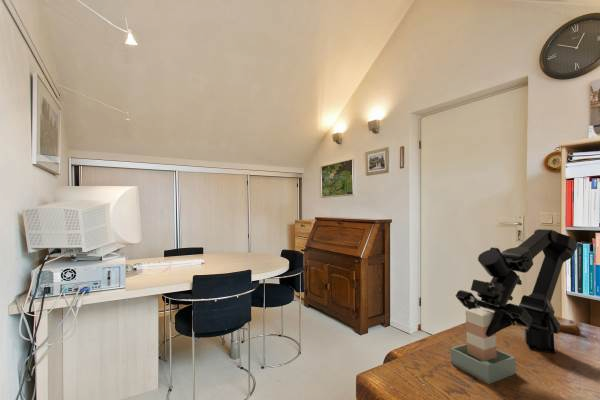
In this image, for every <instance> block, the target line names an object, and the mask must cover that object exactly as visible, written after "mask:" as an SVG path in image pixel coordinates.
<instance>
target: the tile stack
mask: <svg viewBox="0 0 600 400" xmlns="http://www.w3.org/2000/svg"><path fill="white" fill-rule="evenodd" d="M493 318H494V311H491V310H488V309H487V310H486V309H485V308H482V307H480V308H473V309H469V310H468V309H465V325H466V326H465V329H466V331H465V333H466V343H467V353H468V354H471V355H473V356H475V357H477V358H479V359H481V360H483V361H487V360H490V359H493V358H496V357H497V350H498V349H497V333H495V334H493V335H491V336H490V337H487V336H486V332H487V329H488V327H489V325H490V323H491V321H492V319H493ZM496 349H497V350H496Z"/></svg>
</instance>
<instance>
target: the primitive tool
mask: <svg viewBox="0 0 600 400" xmlns="http://www.w3.org/2000/svg"><path fill="white" fill-rule="evenodd" d="M514 323H515V324H516V325H515V326H521V325H518V324H517V322H516V321H515V322H514ZM560 332H562V333H568V334H573V335H576V336H580V335H581V330H580V327H579V326H578V325H577V324H574V325H572V324H571V325H569V324H568V325H567V324H560V331H559V333H560Z"/></svg>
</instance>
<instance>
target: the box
mask: <svg viewBox="0 0 600 400" xmlns="http://www.w3.org/2000/svg"><path fill="white" fill-rule="evenodd" d="M449 350H450V364H452V365H454V366H455V367H457V368H459V369H461V370H462V371H464V372H466V373H469V374H470V375H472V376H473V377H475V378H477V379H479V380H480V381H483V382H485V383H486V384H488V385H490V384H493V383H495V382H498V381H500V380H503V379H505V378H508V377H510V376H513V375H516V374H517V370H516V367H517V366H516V357H515V356H513V355H511V354H508V353H506V352H503V351H501V350H499V349H497V348H496V350H497V357H496V358H493V359H490V360H487V361H483V360H481V359H479V358H477V357H475V356H473V355H471V354H468V353H467V342H466V343H462V344H459V345H456V346H453V347H450V348H449Z"/></svg>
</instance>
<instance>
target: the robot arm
mask: <svg viewBox="0 0 600 400" xmlns="http://www.w3.org/2000/svg"><path fill="white" fill-rule="evenodd" d="M577 249H578V242H577V240H576V239H575V238H573V237H572V235H571V236H569V235H567V234H563V233H560V232H557V231H556V230H554V229H545V228H544V229H542V228H538V229H535V230H534V231H533V234H532V235H531V236H529V237H528V238H526V239H525V240H524V241H523V242H522V243H520V244H519V245H517V246H516V247H511V248H507V249H505V250H503V251H501V250H500V248H499V247H492V246H491V247H490V248H489V249H488V250H485V251H483V252H481V253H479V255H478V257H477V261H478V262H479V264H480V265H481V267H482V268H483V269H484V270H485V271H486V273H487V274H488V275H489V276H490V277H492V278H491V280H490V282H489V281H482V280H477V279H473V280H472V284H471V287H470V291H472V292H473V291H474V292H475V293H477V296H478V297H479V298H480V299H478V298H477V297H476V296H475V295H474V294H473V293H472V292H470V291H466V290H462V289H460V290H458V291H457V293H456V294H455V297H456V299H457V300H458V301H459V302H460V303H461V305H463V307H465V308H467V310H469V309H473V308H482V309H485V310H486V309H487V310H488V311H492V312H493V313H494V318H493V319H492V321H491V323H490V325H489V327H488V329H487V332H486V336H487V337H490V336H491V335H493V334H495V333H496V334H497V333H498V332H500V331H502V330H504V329H506V328H508V327H510V326H513V327H516V326H519V325H521V326H522V327H525V328H524V331H523V332H524V342H525V344H526V345H527V346H528V348H529V349H530V350H532V351H539V352H544V353H545V352H546V353H551V354H557V350H556V349H555V335H556V334H560V325H561V324H560V322H559V321H558V319H557V318H556V316H555V310H554V309H555V308H554V307H553V304H552V302H551V301H552V299H553V295H554V292H555V289H556V286H557V283H558V281H559V280H558V279H559V277H560V274H561V271H562V268H563V264H564V263H565V262H567V261H568V260H570V259H572V257H573V255H574V253H575V252H576V250H577ZM541 252H543V254H544V257H543V260H542V263H541V266H540V269H539V271H538V275H537V277H536V280H535V283H534V287H533V289H532V291H531V293H530V294H528V295H525V294H524V295H523V296H522V297H521V300H520V303H519V304H518V305H517V304H513V303H510V302H509V301H513V299H514V297H513V296H512V294H513V292H514V291H515V288H516V286H517V285H518V286H522V285H523V283H522V280H521V278H520V275H518V274H517V272H518V273H525V274H526V273H528V272H529V270H530V269H532V267H533V266H534V258H536V256H538V255H539V254H540V253H541ZM515 321H516V322H517V324H518V325H516V324H515V323H514V322H515Z"/></svg>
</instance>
